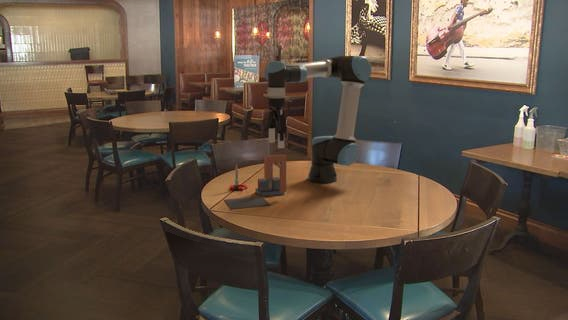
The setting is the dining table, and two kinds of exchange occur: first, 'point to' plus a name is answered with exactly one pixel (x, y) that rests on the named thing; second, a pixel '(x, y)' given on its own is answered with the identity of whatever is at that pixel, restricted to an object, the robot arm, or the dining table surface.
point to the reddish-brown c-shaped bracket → (282, 161)
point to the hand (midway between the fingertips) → (276, 145)
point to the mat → (246, 202)
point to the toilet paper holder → (269, 185)
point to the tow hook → (236, 186)
